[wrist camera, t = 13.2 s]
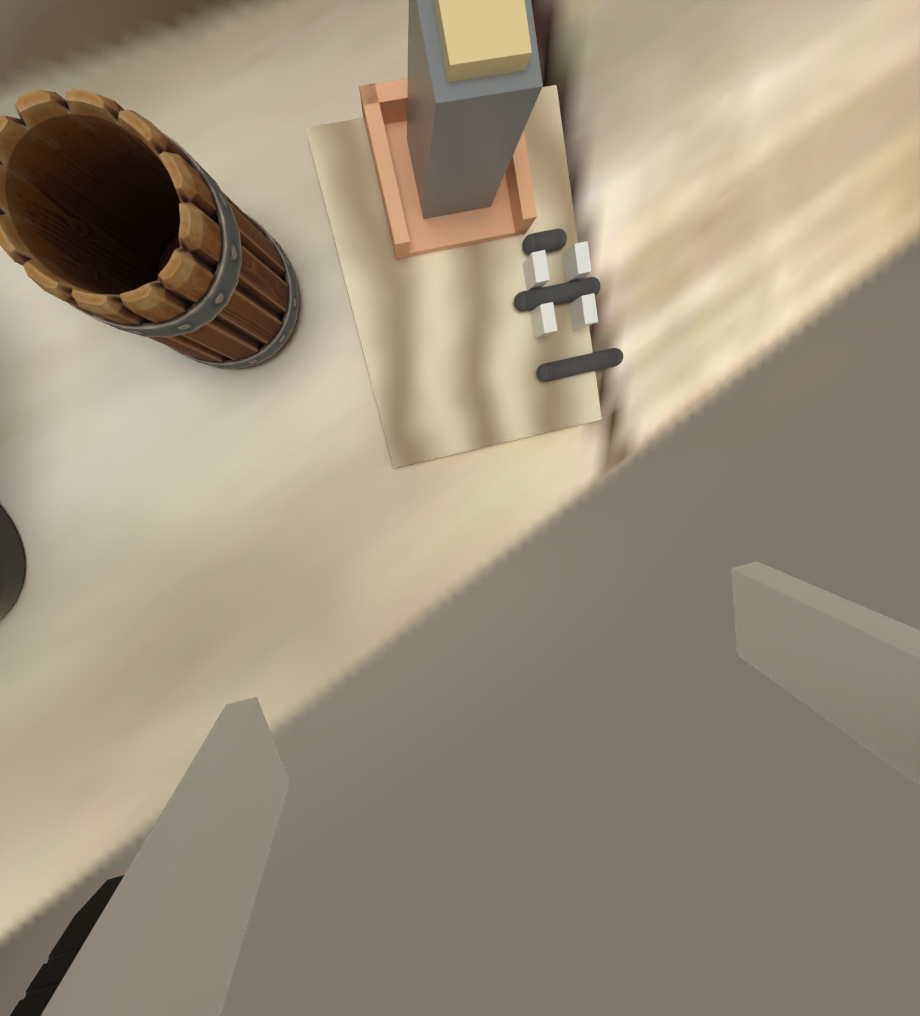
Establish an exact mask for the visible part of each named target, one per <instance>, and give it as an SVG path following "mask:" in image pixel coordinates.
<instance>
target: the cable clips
mask: <svg viewBox="0 0 920 1016" xmlns="http://www.w3.org/2000/svg"><path fill="white" fill-rule="evenodd" d="M562 260H563V267H564V274H565V281H566V282H570V281H575V280H580V279H582V278H583V277H584V276H586V275H587V274H589V273H590V272H591V264H590V256H589V249H588V241H587V242H582V243H577V244H574V245H573V246H572V247H571V248H570V249H569V250H568V251H567V252H566V253H565V254H564V255H563V256H562ZM522 265H523V271H524V277H525V284H526V290H532V289H537V288H541V287H542V286H543V285H545V284H546V283H547V282H548V281H549V280H550V279H549V272H548V265H547V259H546V252H545V250H542V251H537V252H532V253H531V254H530V255H529V257H528V258H527V259H526V260H525V261H524V263H523V264H522ZM569 309H570V316H571V323H572V330H577V329H582V328H585V327H587V326H590V325H592V324H594V323H596V322H598V318H597V310H596V302H595V295H594V293H593V294H588V295H583V296H581V297H579V298H577V299H576V300H574V301H573V302H571V303H570V304H569ZM530 314H531V320H532V326H533V332H534V338H535V339H536V338H540V337H545V336H548V335H550V334H552V333H553V332H555V331H557V325H556V318H555V311H554V305H553V302H550V303H546V304H541V305H539V306H538V307H536V308H535V309H534V310H533V311H531V312H530Z"/></svg>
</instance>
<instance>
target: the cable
mask: <svg viewBox="0 0 920 1016" xmlns="http://www.w3.org/2000/svg"><path fill="white" fill-rule="evenodd" d="M566 242H567V235H566V232H565V231H564V230H562V229H552V230H547V231H542V232H537V233H532V234H529V235H527V236H526V237H525V239H524V241H523V250H524V252H525V253H526V254H527V255H530V254H531V253H532V252H537V251H542V250H545V252H546V253H547V252H552V251H557V250H560V249H562V248H563V247H564V246H565V244H566ZM599 290H600V282H599V280H598V279H597V278H595V277H590V278H585V279H580V280H575V281H570V282H566V283H561V284H556V285H551V286H546V287H542V288H537V289H532V290H527V291H522V292H520V293H518V294H517V295H516V296H515V298H514V306H515V308H516V309H517V310H518V311H521V312H524V311H529V310H534V309H535V308H536V307H538V306H539V305H541V304H546V303H550V302H553V305H557V304H562V303H567V302H571V301H574V300H576V299H577V298H579V297H581V296H583V295H588V294H593V293H594V295H597V294H598V292H599ZM622 360H623V353H622V351H621V350H620V349H617V348H612V349H608V350H603V351H599V352H594V353H590V354H585V355H581V356H576V357H572V358H567V359H563V360H558V361H554V362H549V363H545V364H542V365H540V366H539V367H538V369H537V377H538V379H539V380H541V381H543V382H547V381H552V380H556V379H561V378H565V377H569V376H574V375H578V374H583V373H587V372H592V371H596V370H600V369H605V368H609V367H614V366H617V365H619V364H620V363H621V362H622Z"/></svg>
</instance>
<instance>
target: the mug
mask: <svg viewBox="0 0 920 1016" xmlns="http://www.w3.org/2000/svg"><path fill="white" fill-rule="evenodd" d="M65 94H66V99H67V101H66V100H65V99H63V98H62V97H61V96H60V95H59V94H57V93H56V92H51V91H43V90H36V91H33V92H29V93H27V94H24V95H22V96H20V97H19V98H18V100H17V103H16V105H15V107H16V109H17V111H18V114H19V116H20V118H21V119H17V118H13V117H9V116H0V246H1V247H2V248H3V249H4V250H5V251H6V252H7V254H8V255H9V256H10V257H11V258H12V259H13V260H14V261H15V262H16V263H19V264H21V265H23V266H24V268H25V270H26V273H27V275H28V276H29V277H30V278H31V279H32V280H33V281H34V282H35V283H37V284H38V285H39V286H40V287H41V288H42V289H43V290H44V291H46V292H48V293H50V294H52V295H54V296H56V297H57V298H59V299H61V300H63V301H65V302H67V303H69V304H70V305H71V306H73V307H74V308H76V309H78V310H80V311H82V312H83V313H85V314H87V315H89V316H91V317H92V318H94V319H96V320H98V321H101V322H103V323H105V324H108V325H110V326H113V327H115V328H117V329H120V330H124V331H127V332H130V333H134V334H137V335H141V336H144V337H149V338H151V339H153V340H156V341H158V342H160V343H163V344H165V345H167V346H169V347H170V348H172V349H174V350H175V351H177V352H179V353H181V354H183V355H184V356H186V357H188V358H190V359H193V360H195V361H197V362H200V363H203V364H207V365H210V366H214V367H217V368H236V369H240V368H244V367H251V366H254V365H257V364H261V363H263V362H265V361H267V360H268V359H270V358H271V357H272V356H273V355H274V354H275V353H276V352H277V351H281V349H282V348H283V347H284V346H285V345H286V344H287V343H288V341H289V339H290V338H291V336H292V334H293V332H294V330H293V328H294V326H295V322H296V321H298V316H299V309H300V296H299V294H298V285H297V280H296V277H295V275H294V272H293V269H292V265H291V263H290V262H289V260H288V258H287V257H286V255H285V253H284V251H283V250H282V248H281V246H280V245H279V244H278V243H277V242H276V241H275V240H274V239H273V238H272V237H271V236H270V235H269V234H268V232H267V231H266V230H265V229H264V228H263V227H262V226H261V225H260V224H259V223H258V222H257V221H256V220H254V219H253V218H251V217H250V216H248V215H247V214H245V213H244V212H242V211H241V210H240V209H239V208H238V207H237V206H236V205H235V204H234V203H233V202H232V201H231V200H230V199H229V198H228V197H227V196H226V195H225V194H224V193H223V192H222V191H221V189H220V188H219V186H218V185H217V183H216V182H215V181H214V180H213V179H212V178H211V176H210V175H209V174H208V173H207V172H206V171H205V170H204V169H203V168H202V167H201V166H200V165H199V164H198V163H197V162H196V161H195V160H194V159H193V158H192V157H191V156H190V155H189V154H188V153H187V152H186V151H185V150H184V149H183V148H182V147H181V146H180V145H179V144H178V143H177V142H176V141H174V140H173V139H171V138H170V137H168V136H167V135H165V134H164V133H162V132H161V131H159V130H158V129H157V128H156V127H155V126H154V125H153V124H152V123H151V122H150V121H148V120H147V119H145V118H144V117H142V116H141V115H139V114H138V113H136V112H134V111H133V110H124V109H123V108H122V107H121V106H120V105H119V104H117V103H116V102H115V101H113V100H111V99H108V98H105V97H103V96H100V95H98V94H95V93H92V92H88V91H84V90H79V89H74V88H73V89H71V90H70V91H68V92H66V93H65Z"/></svg>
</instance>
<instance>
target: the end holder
mask: <svg viewBox="0 0 920 1016" xmlns="http://www.w3.org/2000/svg"><path fill="white" fill-rule="evenodd" d="M359 89H360V96H361V104H362V111H363V118H364V123H365V127H366V131H367V136H368V140H369V145H370V149H371V153H372V158H373V162H374V166H375V171H376V175H377V179H378V184H379V188H380V193H381V197H382V201H383V206H384V210H385V214H386V219H387V223H388V227H389V232H390V236H391V241H392V245H393V249H394V254H395V258H396V259H401V258H406V257H411V256H416V255H421V254H426V253H432V252H437V251H442V250H447V249H452V248H457V247H462V246H467V245H472V244H477V243H482V242H487V241H492V240H497V239H502V238H508V237H513V236H518V235H523V234H526V232H527V231H528V229H529V228H530V226H531V225H532V223H533V222H534V221H535V219H536V218H537V213H536V206H535V200H534V193H533V187H532V180H531V174H530V167H529V161H528V154H527V147H526V141H525V134H524V131H523V133H522V135H521V138H520V140H519V142H518V145H517V147H516V149H515V152H514V154H513V156H512V159H511V161H510V163H509V165H508V168H507V170H506V172H505V175H504V177H503V179H502V182H501V184H500V186H499V189H498V191H497V193H496V196H495V198H494V200H493V203H492V205H491V207H488V208H482V209H477V210H471V211H466V212H460V213H455V214H449V215H444V216H438V217H433V218H428V219H423V216H422V211H421V206H420V201H419V196H418V191H417V186H416V182H415V177H414V172H413V167H412V162H411V157H410V152H409V147H408V142H407V91H408V78H407V79H400V80H394V81H388V82H382V83H376V84H370V85H364V86H359Z"/></svg>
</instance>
